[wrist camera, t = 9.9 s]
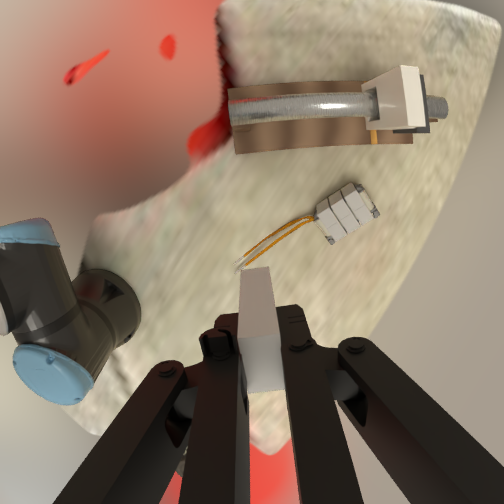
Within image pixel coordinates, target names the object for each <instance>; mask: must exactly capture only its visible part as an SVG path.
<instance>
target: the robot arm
mask: <svg viewBox="0 0 504 504" xmlns="http://www.w3.org/2000/svg"><path fill="white" fill-rule="evenodd" d="M59 247H60V245H59V243H58V242H57V241H56V238H55V235H54V232H53V230H52V227H51V225H50V223H49V222H48V221H47V220H46V219H43V218H34V219H29V220H24V221H20V222H16V223H13V224H8V225H5V226H1V227H0V335H1V336H5V335H7V334H9V333H10V332H12V334H13V335H14V338H15V340H16V342H17V344H18V347H17V348H16V349H15V351H14V354H13V366H14V368H15V371H16V373H17V374H18V376H19V377H20V379H21V380H22V381H23V382H24V383H25V384H26V385H27V386H28V387H29V388H30V389H31V390H32V391H33V392H35V393H36V394H37V395H39V396H41V397H43V398H44V399H46V400H48V401H50V402H53V403H56V404H60V405H74V404H77V403H79V402H80V401H82V400H83V398H84V397H85V396H86V394H87V393H88V391H89V390H91V389H92V387H93V386H94V383H95V381H96V379H97V377H98V376H99V374H100V372H101V370H102V369H103V367H104V365H105V363H106V362H107V360H108V358H109V356H110V354H111V353H112V351H113V350H115V349H116V348H118V347H120V346H121V345H123V344H125V343H126V342H128V341H129V340H130V339H131V338H132V337H133V335H134V334H135V332H136V330H137V329H138V327H139V324H140V320H141V309H140V305H139V302H138V299H137V297H136V295H135V293H134V292H133V290H132V289H131V288H130V286H129V285H128V284H127V283H126V282H125V281H124V280H123V279H121V278H120V277H118V276H117V275H115V274H113V273H111V272H109V271H106V270H101V269H92V270H87V271H85V272H83V273H81V274H80V275H79V276H77V277H76V278H75V279H74V280H73V281H72V282H71V280H70V277H69V275H68V272H67V269H66V266H65V264H64V261H63V258H62V255H61V252H60V249H59ZM199 341H200V345H201V349H202V352H203V356H204V357H203V361H202V362H200V363H198V364H195V365H192V366H189V367H185V368H184V366H183V364H182V363H181V362H179V361H175V360H167V361H163V362H160V363H158V364H157V365H155V366H154V367H153V368H152V369H151V370H150V372H149V373H148V374H147V376H146V377H145V378H144V380H143V381H142V382H141V384H140V385H139V386H138V388H137V389H136V390H135V392H134V393H133V394H132V396H131V397H130V399H129V400H128V401H127V403H126V404H125V405H124V407H123V408H122V409H121V411H120V412H119V413H118V415H117V416H116V417H115V419H114V420H113V422H112V423H111V424H110V426H109V427H108V428H107V430H106V431H105V432H104V434H103V435H102V436H101V438H100V439H99V441H98V442H97V443H96V445H95V446H94V447H93V449H92V450H91V452H90V453H89V454H88V456H87V457H86V458H85V460H84V461H83V462H82V464H81V465H80V467H79V468H78V469H77V471H76V472H75V473H74V475H73V476H72V478H71V479H70V480H69V482H68V483H67V485H66V486H65V487H64V489H63V490H62V491H61V493H60V494H59V496H58V497H57V498H56V500H55V501H54V503H53V504H159V502H160V500H161V498H162V496H163V495H164V493H165V491H166V489H167V487H168V485H169V482H170V481H171V479H172V477H173V475H174V472H175V471H176V469H177V467H178V465H179V462H180V460H181V458H182V456H183V454H184V452H185V450H186V448H187V453H186V459H185V465H184V471H183V477H182V484H181V490H180V497H179V503H178V504H250V447H249V400H248V396H247V389H248V394H250V393H259V392H268V391H276V390H284V389H285V391H286V400H287V410H288V415H289V422H290V430H291V437H292V444H293V453H294V460H295V467H296V476H297V483H298V492H299V500H300V504H364V502H363V499H362V495H361V491H360V488H359V484H358V480H357V477H356V473H355V470H354V466H353V462H352V459H351V455H350V452H349V448H348V445H347V441H346V438H345V435H344V431H343V428H342V424H341V421H340V418H339V414H338V411H337V407H336V404H335V401H334V400H337V402H338V405H339V406H340V407H341V409H342V410H343V412H344V413H345V414H346V416H347V417H348V419H349V420H350V421H351V423H352V424H353V426H354V427H355V428H356V430H357V431H358V432H359V434H360V435H361V436H362V438H363V439H364V441H365V442H366V444H367V445H368V446H369V448H370V449H371V450H372V452H373V453H374V454H375V456H376V457H377V459H378V460H379V461H380V463H381V464H382V465H383V466H384V468H385V469H386V471H387V472H388V474H389V475H390V476H391V478H392V479H393V480H394V482H395V483H396V484H397V486H398V487H399V489H400V490H401V491H402V492H403V494H404V495H405V497H406V498H407V499H408V501H409V502H410V503H411V504H504V467H503V466H502V465H501V464H500V463H499V462H498V461H497V460H496V459H495V458H494V457H493V456H492V455H491V454H490V453H489V452H488V451H487V450H486V449H485V448H484V447H483V446H482V445H481V444H480V443H478V442H477V441H476V440H475V439H474V438H473V437H472V436H471V435H470V434H469V433H468V432H467V431H466V430H465V429H464V428H463V427H462V426H461V425H460V424H459V423H458V422H456V420H455V419H453V418H452V417H451V416H450V415H449V414H448V413H447V412H446V411H445V410H444V409H443V408H442V407H441V406H440V405H439V404H438V403H437V402H436V401H434V400H433V399H432V398H431V397H430V396H429V395H428V394H427V393H426V392H425V391H424V390H423V389H422V388H421V387H420V386H419V385H418V384H417V383H415V382H414V381H413V380H412V379H411V378H410V377H409V376H408V375H407V374H406V373H405V372H404V371H403V370H402V369H401V368H399V367H398V366H397V365H396V364H395V363H394V362H393V361H392V360H391V359H390V358H389V357H388V356H387V355H386V354H384V353H383V352H382V351H381V350H380V349H379V348H378V347H377V346H376V345H375V344H374V343H373V342H372V341H370V340H368V339H366V338H362V337H351V338H347V339H345V340H343V341H341V343H340V344H339V345H338V348H327V347H322V346H320V345H318V344H317V343H316V341H315V340H314V339H313V338H312V337H311V333H310V330H309V327H308V324H307V321H306V318H305V314H304V311H303V309H302V308H301V307H300V306H298V305H297V304H295V305H288V306H280V307H275V301H274V295H273V288H272V282H271V276H270V271H269V267H262V268H255V269H247V270H241V279H240V297H239V313H231V314H222V315H220V316H219V317H218V318H217V319H216V320H215V324H214V328H212V329H210V330H207V331H205V332H204V333H203V334H201V336H200V337H199ZM187 446H188V447H187Z"/></svg>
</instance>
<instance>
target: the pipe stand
mask: <svg viewBox="0 0 504 504" xmlns="http://www.w3.org/2000/svg"><path fill="white" fill-rule="evenodd" d="M366 82H368V81H315V82H294V83H279V84H267V85H257V86H247V87H239V88H231V89H228V96H229V101H230V100H238V99H246V98H255V97H265V96H277V95H290V94H307V93H336V92H362V88H361V85H362V84H364V83H366ZM426 96H430V95H426ZM429 122H438V119H432V118H429ZM232 129H233V137H234V145H235V153H236V155H237V154H245V153H253V152H263V151H272V150H283V149H294V148H307V147H322V146H339V145H362V144H413V135H412V133H407V134H393V130H366V120H365V117H334V118H313V119H297V120H284V121H273V122H262V123H253V124H244V125H236V126H232Z"/></svg>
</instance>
